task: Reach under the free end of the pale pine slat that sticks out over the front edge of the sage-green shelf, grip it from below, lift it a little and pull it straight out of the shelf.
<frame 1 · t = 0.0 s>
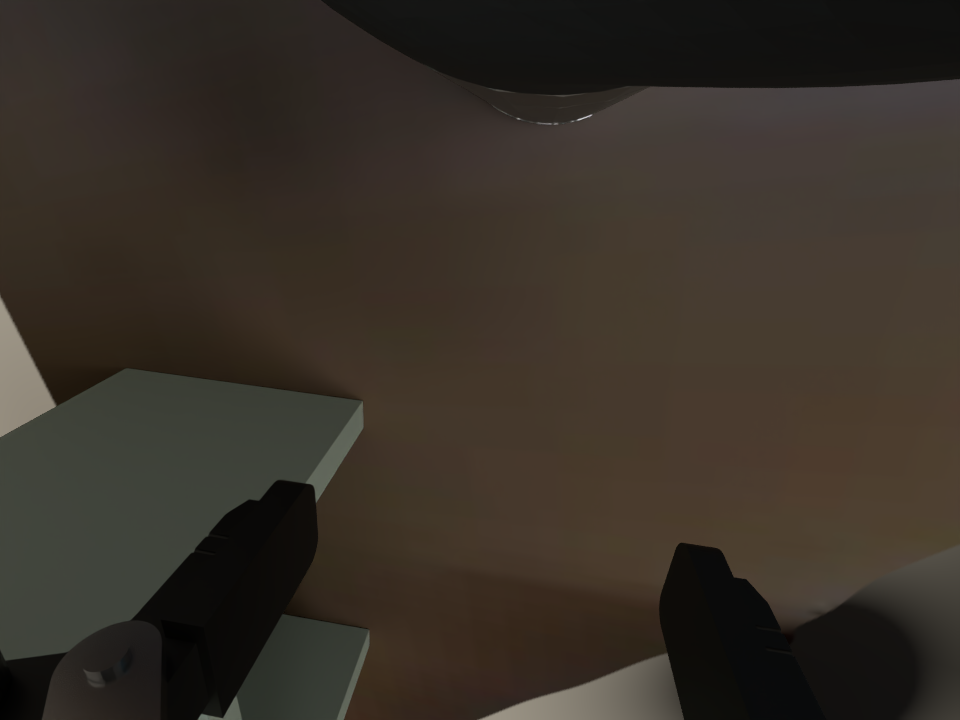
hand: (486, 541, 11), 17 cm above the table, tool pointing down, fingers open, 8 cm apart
shelf: (263, 524, 36), on the table
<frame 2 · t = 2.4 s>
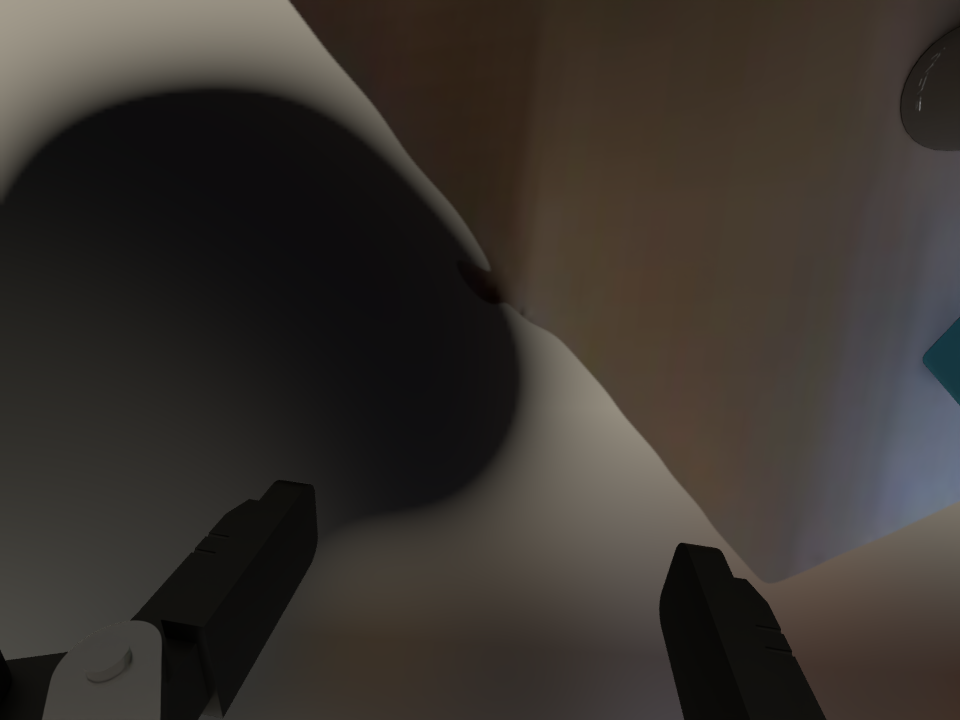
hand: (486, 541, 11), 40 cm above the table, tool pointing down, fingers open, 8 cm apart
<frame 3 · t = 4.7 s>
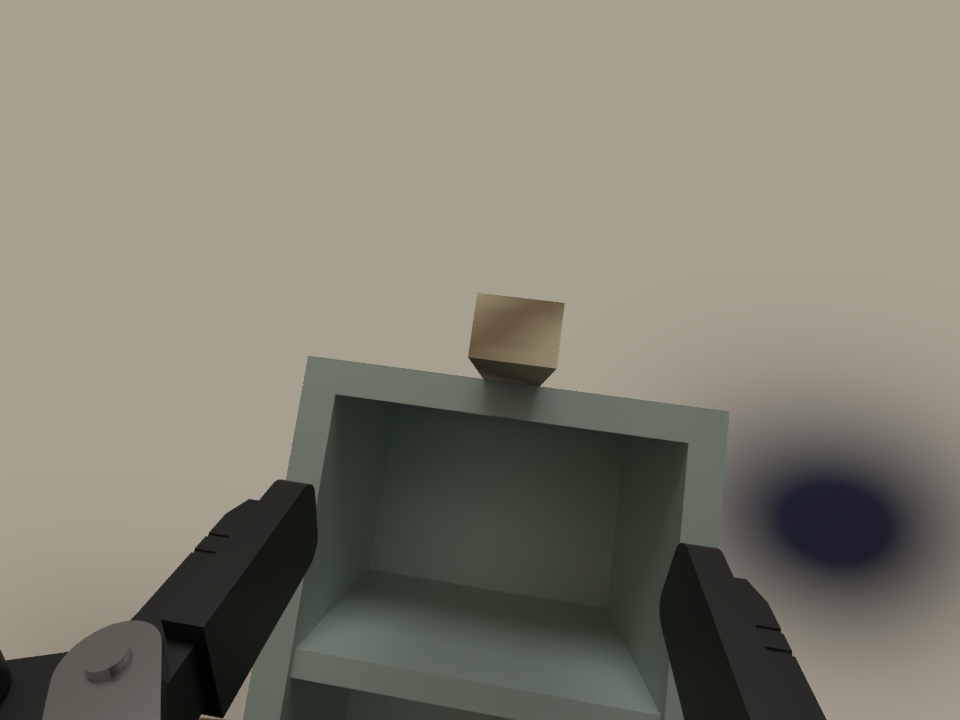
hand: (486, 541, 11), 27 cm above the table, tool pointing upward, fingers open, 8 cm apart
slat: (511, 386, 30), point 32 cm above the table, touching shelf
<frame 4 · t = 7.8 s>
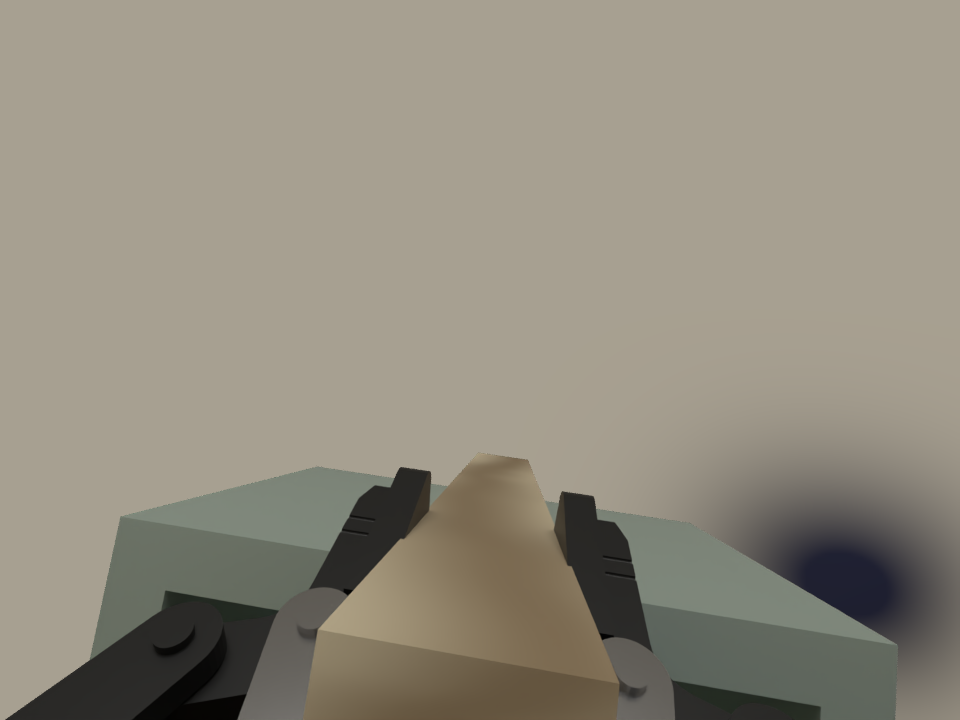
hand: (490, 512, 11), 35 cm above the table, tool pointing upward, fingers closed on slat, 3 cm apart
slat: (489, 550, 18), point 32 cm above the table, touching gripper, shelf
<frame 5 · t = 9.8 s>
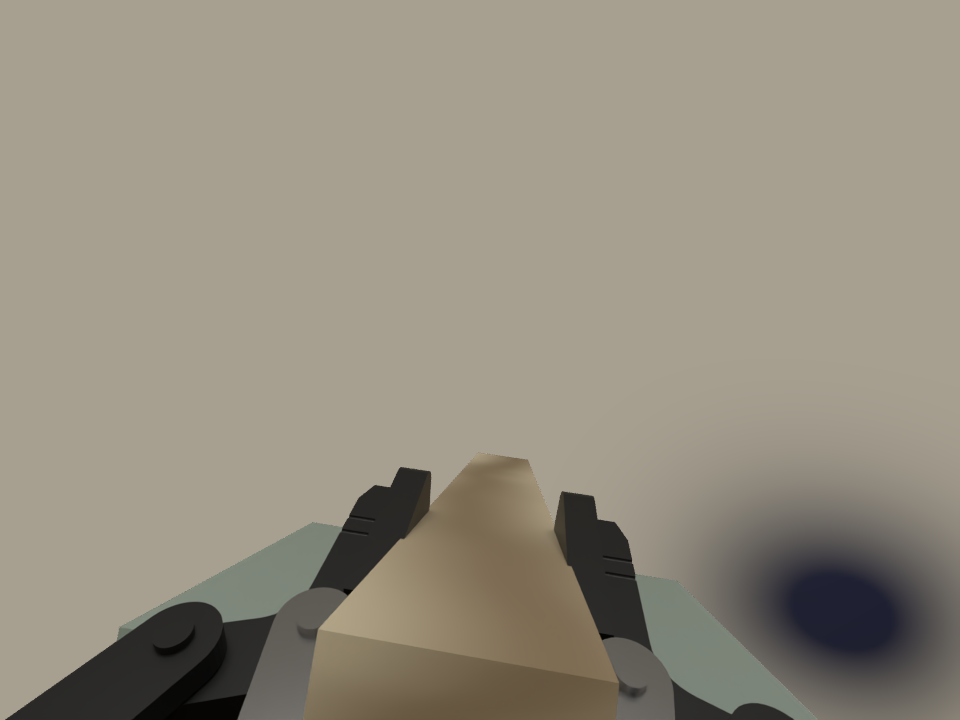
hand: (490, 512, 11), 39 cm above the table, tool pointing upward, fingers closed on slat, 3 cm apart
slat: (489, 549, 18), point 36 cm above the table, touching gripper
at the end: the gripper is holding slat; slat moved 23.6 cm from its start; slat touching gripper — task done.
